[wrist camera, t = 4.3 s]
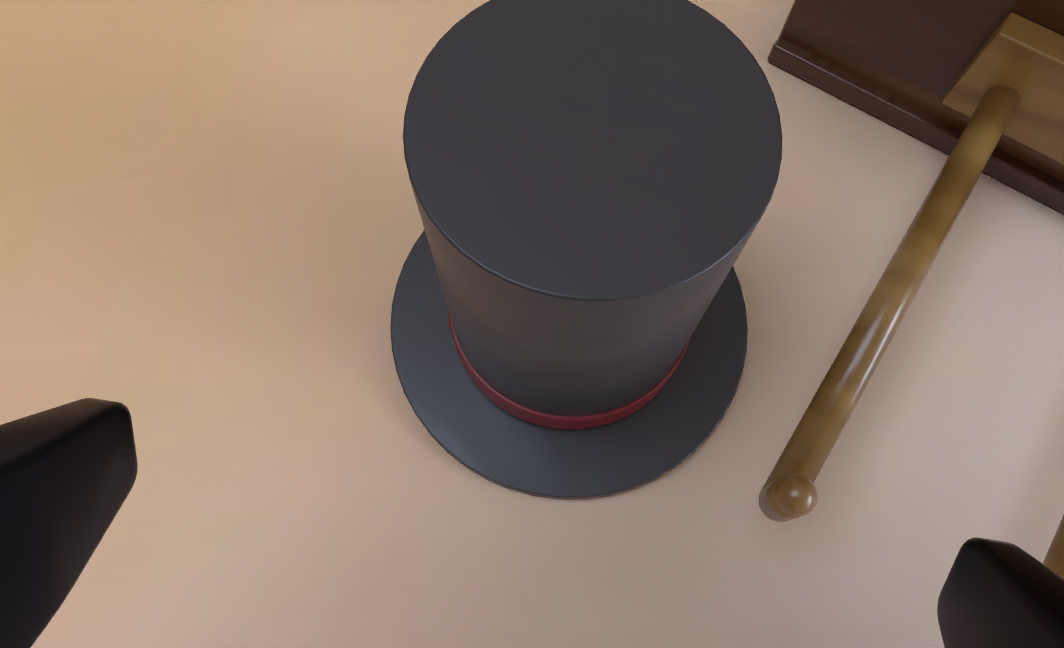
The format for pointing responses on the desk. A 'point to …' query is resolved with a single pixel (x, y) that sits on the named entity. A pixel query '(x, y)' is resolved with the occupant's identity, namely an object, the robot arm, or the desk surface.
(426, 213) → the top hat
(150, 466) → the desk surface
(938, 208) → the hook rack
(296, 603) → the desk surface
